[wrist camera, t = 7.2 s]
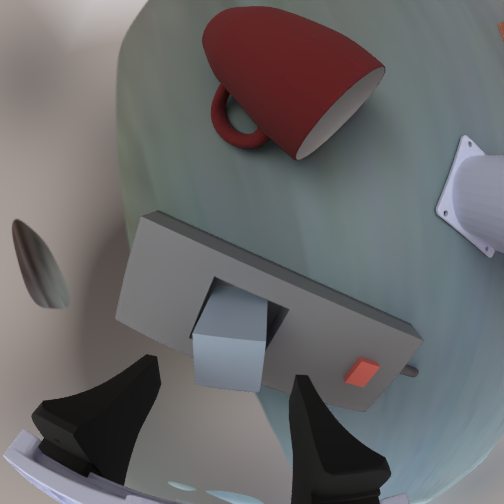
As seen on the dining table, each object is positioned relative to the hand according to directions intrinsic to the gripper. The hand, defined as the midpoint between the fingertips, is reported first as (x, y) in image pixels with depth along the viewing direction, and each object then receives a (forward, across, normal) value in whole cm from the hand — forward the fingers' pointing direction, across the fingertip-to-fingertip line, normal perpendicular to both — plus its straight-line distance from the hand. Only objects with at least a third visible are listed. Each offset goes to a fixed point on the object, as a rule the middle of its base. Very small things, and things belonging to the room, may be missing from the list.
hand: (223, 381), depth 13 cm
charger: (+9, 0, 0) cm, 9 cm away
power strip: (+9, -5, +2) cm, 11 cm away
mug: (+7, +3, -20) cm, 21 cm away
